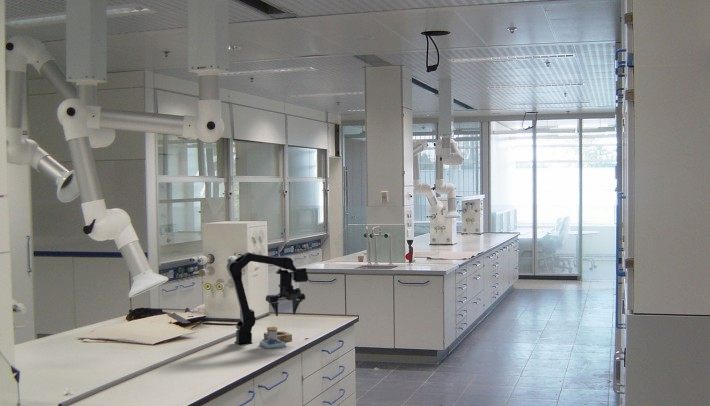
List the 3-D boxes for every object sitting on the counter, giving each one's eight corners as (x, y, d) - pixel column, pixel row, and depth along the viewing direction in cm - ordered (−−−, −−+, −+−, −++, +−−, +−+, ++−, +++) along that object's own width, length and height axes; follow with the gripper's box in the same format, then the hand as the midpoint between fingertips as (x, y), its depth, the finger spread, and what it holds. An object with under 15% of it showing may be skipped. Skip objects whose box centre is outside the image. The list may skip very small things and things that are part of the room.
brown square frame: (273, 343, 345) (273, 336, 345) (263, 339, 354) (263, 332, 354) (291, 340, 351) (291, 334, 351) (282, 336, 359) (282, 330, 359)
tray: (268, 349, 333) (268, 345, 333) (259, 345, 340) (259, 341, 340) (285, 346, 338) (285, 343, 338) (276, 343, 345) (276, 339, 345)
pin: (269, 346, 336) (269, 329, 335) (265, 344, 340) (265, 327, 339) (279, 345, 338) (279, 328, 338) (274, 343, 342) (274, 326, 342)
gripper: (275, 286, 339) (275, 319, 340) (311, 283, 350) (310, 316, 350) (265, 283, 349) (265, 315, 349) (299, 280, 359) (299, 312, 359)
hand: (285, 315), depth 352 cm, fingers open, 9 cm apart
